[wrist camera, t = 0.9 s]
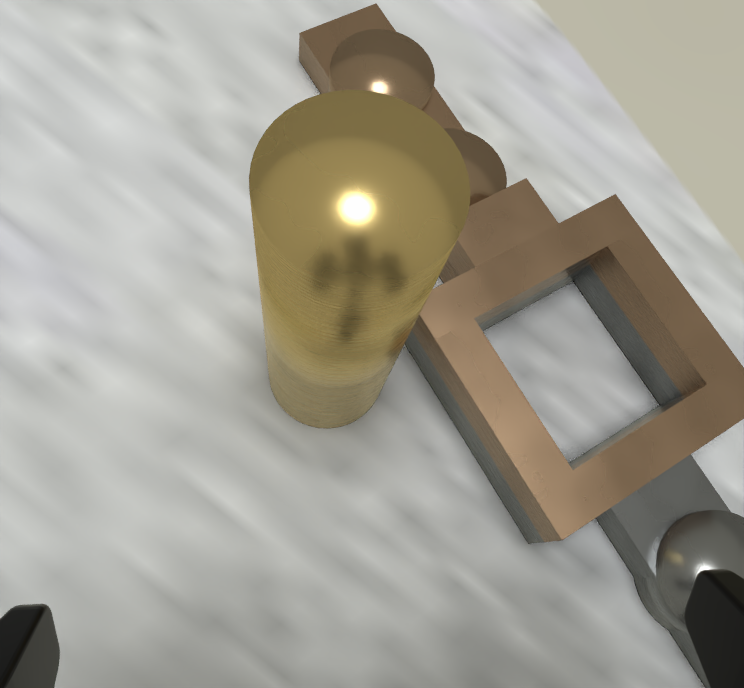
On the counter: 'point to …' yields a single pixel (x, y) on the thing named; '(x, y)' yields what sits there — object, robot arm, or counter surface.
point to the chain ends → (616, 311)
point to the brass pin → (349, 243)
